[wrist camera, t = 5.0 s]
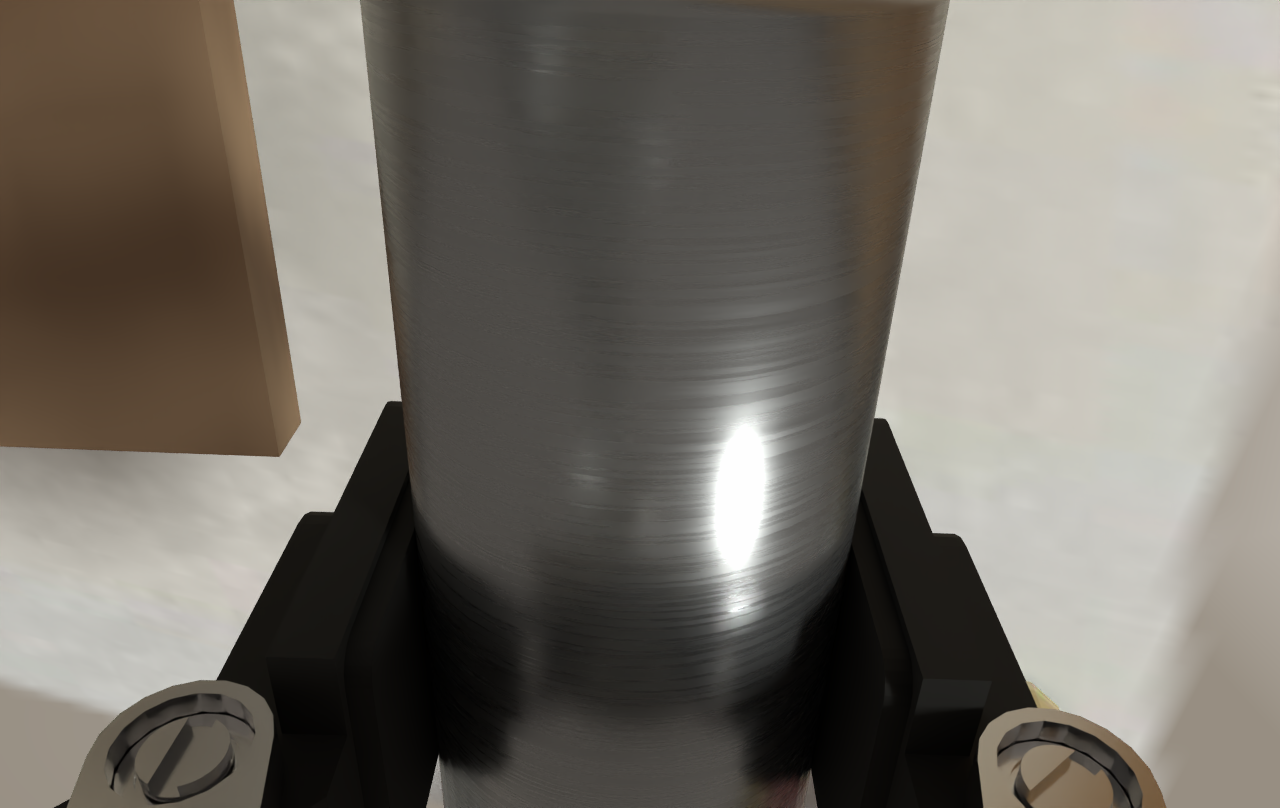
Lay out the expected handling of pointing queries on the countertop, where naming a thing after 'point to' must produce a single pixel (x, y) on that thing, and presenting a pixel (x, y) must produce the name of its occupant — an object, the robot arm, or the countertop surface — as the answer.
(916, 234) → the countertop surface
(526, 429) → the roller
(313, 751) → the robot arm
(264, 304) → the slab
